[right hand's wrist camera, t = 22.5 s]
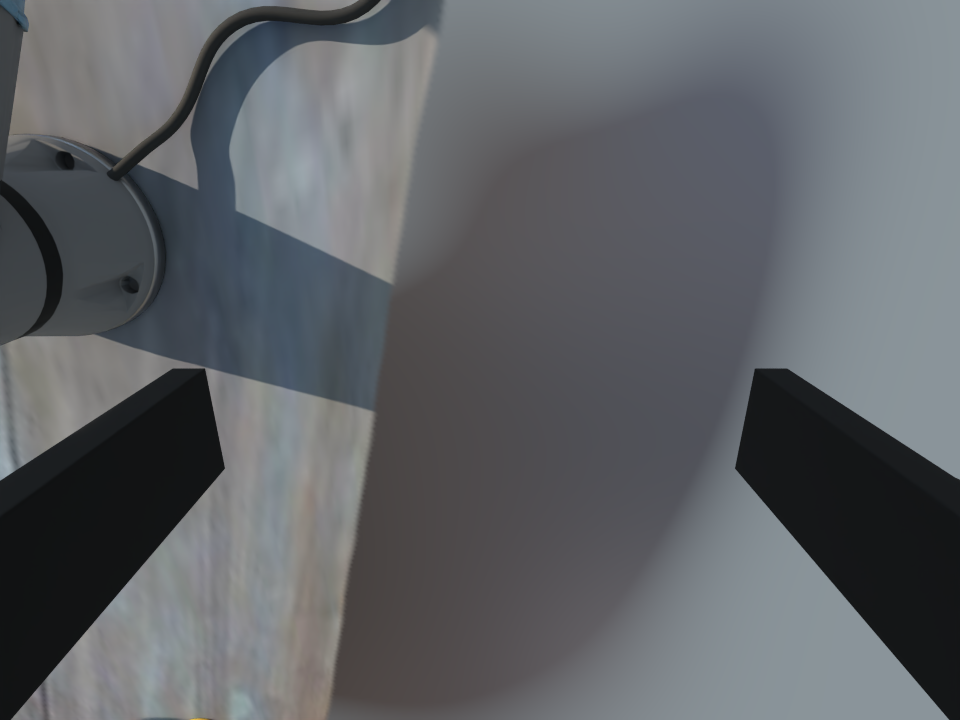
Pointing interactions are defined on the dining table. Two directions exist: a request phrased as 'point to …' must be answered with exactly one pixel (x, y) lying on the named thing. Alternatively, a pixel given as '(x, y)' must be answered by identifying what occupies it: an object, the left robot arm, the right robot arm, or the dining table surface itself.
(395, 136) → the dining table surface
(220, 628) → the dining table surface
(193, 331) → the dining table surface
